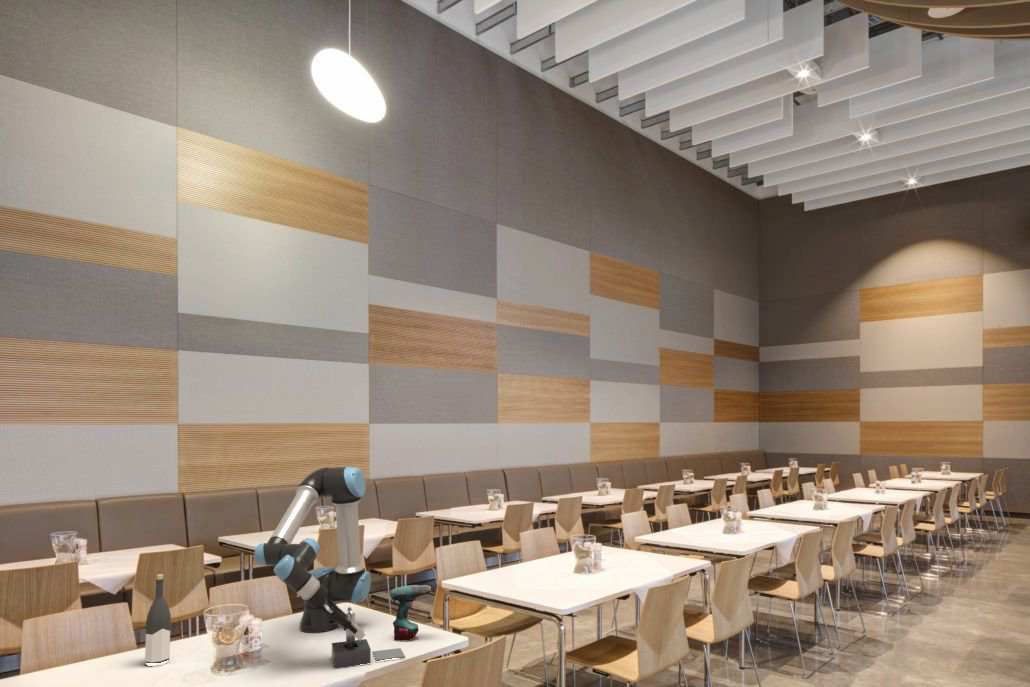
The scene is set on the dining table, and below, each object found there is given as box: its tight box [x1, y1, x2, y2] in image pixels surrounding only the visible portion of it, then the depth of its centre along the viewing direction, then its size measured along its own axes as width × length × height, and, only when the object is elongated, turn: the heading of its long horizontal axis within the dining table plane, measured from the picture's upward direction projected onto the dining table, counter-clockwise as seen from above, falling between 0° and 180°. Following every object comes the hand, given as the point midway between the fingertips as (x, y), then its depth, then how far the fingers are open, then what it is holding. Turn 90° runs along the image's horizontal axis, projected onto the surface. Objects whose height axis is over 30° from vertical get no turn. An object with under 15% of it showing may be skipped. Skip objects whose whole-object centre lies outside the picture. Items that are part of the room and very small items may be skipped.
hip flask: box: [345, 606, 356, 648], centre depth 248 cm, size 8×3×13 cm, turn 19°
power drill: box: [389, 584, 432, 641], centre depth 272 cm, size 7×16×20 cm, turn 78°
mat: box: [371, 647, 406, 662], centre depth 251 cm, size 10×10×1 cm
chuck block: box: [331, 638, 372, 669], centre depth 247 cm, size 12×12×5 cm
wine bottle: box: [144, 573, 172, 663], centre depth 251 cm, size 8×8×30 cm
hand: (362, 636), depth 249 cm, fingers closed on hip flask, 3 cm apart
